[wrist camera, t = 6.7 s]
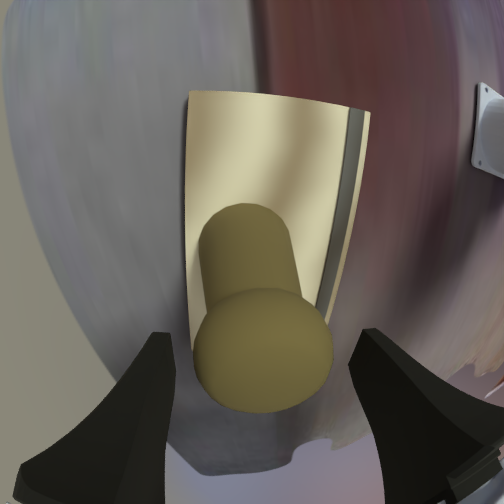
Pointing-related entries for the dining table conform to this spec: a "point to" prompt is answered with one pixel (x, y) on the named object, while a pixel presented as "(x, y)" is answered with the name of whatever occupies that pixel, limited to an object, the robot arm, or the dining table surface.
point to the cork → (256, 316)
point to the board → (275, 180)
